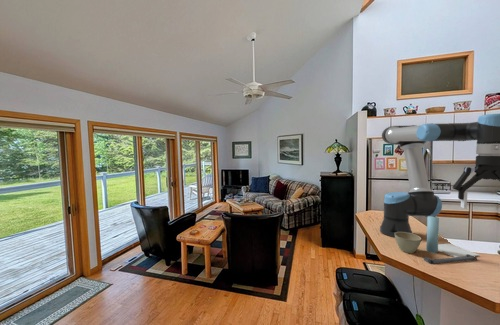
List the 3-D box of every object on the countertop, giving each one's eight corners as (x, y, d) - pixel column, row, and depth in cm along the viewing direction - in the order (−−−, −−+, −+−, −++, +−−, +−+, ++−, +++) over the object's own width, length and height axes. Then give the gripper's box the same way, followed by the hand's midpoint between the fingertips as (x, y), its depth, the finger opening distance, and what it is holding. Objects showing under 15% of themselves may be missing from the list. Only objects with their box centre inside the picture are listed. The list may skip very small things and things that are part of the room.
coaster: (429, 246, 103) (429, 244, 103) (450, 244, 104) (450, 243, 104) (456, 258, 91) (456, 256, 91) (479, 256, 92) (479, 255, 92)
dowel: (424, 249, 99) (425, 216, 98) (431, 249, 100) (432, 216, 99) (432, 253, 95) (433, 218, 94) (440, 253, 96) (441, 218, 95)
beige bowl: (389, 246, 103) (389, 231, 103) (410, 246, 103) (410, 231, 102) (403, 255, 93) (404, 240, 93) (426, 256, 93) (427, 240, 92)
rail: (423, 260, 89) (423, 257, 89) (468, 256, 92) (468, 254, 92) (430, 263, 86) (430, 261, 86) (476, 260, 89) (476, 257, 89)
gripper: (452, 155, 82) (449, 208, 83) (548, 155, 71) (543, 216, 72) (443, 154, 88) (441, 204, 90) (530, 155, 78) (526, 210, 79)
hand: (486, 209), depth 81 cm, fingers open, 13 cm apart
